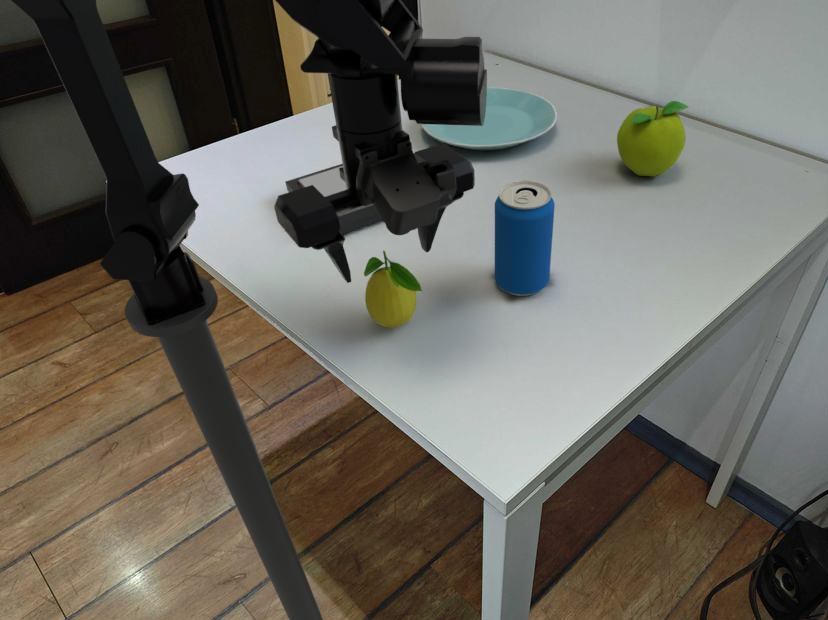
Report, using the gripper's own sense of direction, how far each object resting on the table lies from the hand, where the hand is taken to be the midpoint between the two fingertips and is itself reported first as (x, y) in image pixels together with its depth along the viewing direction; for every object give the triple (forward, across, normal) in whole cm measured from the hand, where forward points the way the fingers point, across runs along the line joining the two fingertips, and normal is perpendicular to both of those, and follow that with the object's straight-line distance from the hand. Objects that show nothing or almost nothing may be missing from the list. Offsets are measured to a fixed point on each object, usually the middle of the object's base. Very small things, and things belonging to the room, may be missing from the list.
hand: (387, 265), depth 69 cm
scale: (+8, +7, +26) cm, 28 cm away
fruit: (+8, +47, +9) cm, 49 cm away
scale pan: (+6, +7, +26) cm, 28 cm away
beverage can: (+8, +16, -2) cm, 18 cm away
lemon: (+8, 0, 0) cm, 8 cm away
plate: (+8, +36, +34) cm, 50 cm away
